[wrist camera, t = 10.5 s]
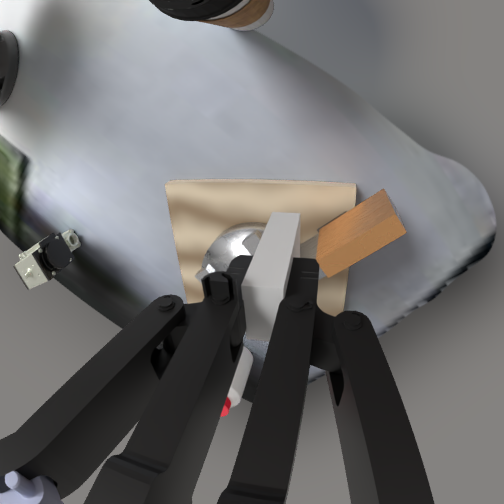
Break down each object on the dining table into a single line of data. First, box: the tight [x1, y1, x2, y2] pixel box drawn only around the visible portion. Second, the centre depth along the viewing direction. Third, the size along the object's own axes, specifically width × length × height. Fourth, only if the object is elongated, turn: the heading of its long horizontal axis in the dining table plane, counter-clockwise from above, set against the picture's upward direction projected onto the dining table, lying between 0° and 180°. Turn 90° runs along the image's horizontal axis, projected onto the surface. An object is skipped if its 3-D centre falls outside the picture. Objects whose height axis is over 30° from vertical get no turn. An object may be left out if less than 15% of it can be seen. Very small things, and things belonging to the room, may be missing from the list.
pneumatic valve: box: [14, 229, 81, 290], centre depth 42 cm, size 6×12×12 cm, turn 114°
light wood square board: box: [165, 179, 356, 317], centre depth 39 cm, size 22×22×2 cm
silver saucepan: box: [194, 188, 407, 284], centre depth 32 cm, size 24×13×8 cm, turn 131°
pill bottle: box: [220, 346, 253, 417], centre depth 46 cm, size 8×8×11 cm
